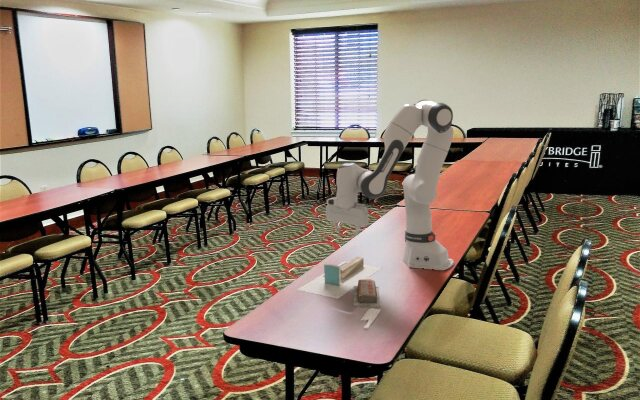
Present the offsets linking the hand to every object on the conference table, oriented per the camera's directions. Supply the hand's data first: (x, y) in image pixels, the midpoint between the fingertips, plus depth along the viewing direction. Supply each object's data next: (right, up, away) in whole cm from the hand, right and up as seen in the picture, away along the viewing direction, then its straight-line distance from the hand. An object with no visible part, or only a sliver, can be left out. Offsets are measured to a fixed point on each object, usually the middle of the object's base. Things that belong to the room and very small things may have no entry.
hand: (346, 233), depth 223 cm
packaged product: (+6, -24, -24) cm, 34 cm away
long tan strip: (+2, -17, +2) cm, 17 cm away
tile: (-6, -20, -11) cm, 24 cm away
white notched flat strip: (+5, -28, -42) cm, 50 cm away
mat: (-2, -19, -5) cm, 20 cm away
